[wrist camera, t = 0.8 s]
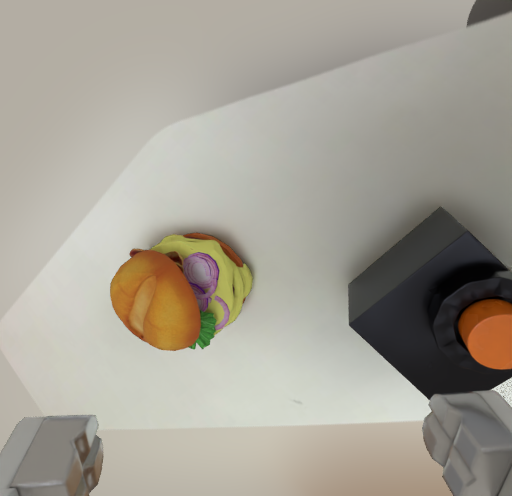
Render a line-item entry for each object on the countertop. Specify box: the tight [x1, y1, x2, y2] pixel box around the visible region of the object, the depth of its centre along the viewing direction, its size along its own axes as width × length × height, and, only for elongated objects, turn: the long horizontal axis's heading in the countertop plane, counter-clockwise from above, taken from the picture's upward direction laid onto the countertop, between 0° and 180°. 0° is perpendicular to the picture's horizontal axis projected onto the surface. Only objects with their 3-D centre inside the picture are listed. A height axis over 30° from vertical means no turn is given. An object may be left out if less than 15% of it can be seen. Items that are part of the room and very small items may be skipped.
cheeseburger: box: [110, 233, 253, 351], centre depth 33 cm, size 10×11×10 cm
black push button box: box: [348, 207, 512, 400], centre depth 27 cm, size 10×10×9 cm
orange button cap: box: [458, 299, 512, 369], centre depth 22 cm, size 4×4×2 cm
